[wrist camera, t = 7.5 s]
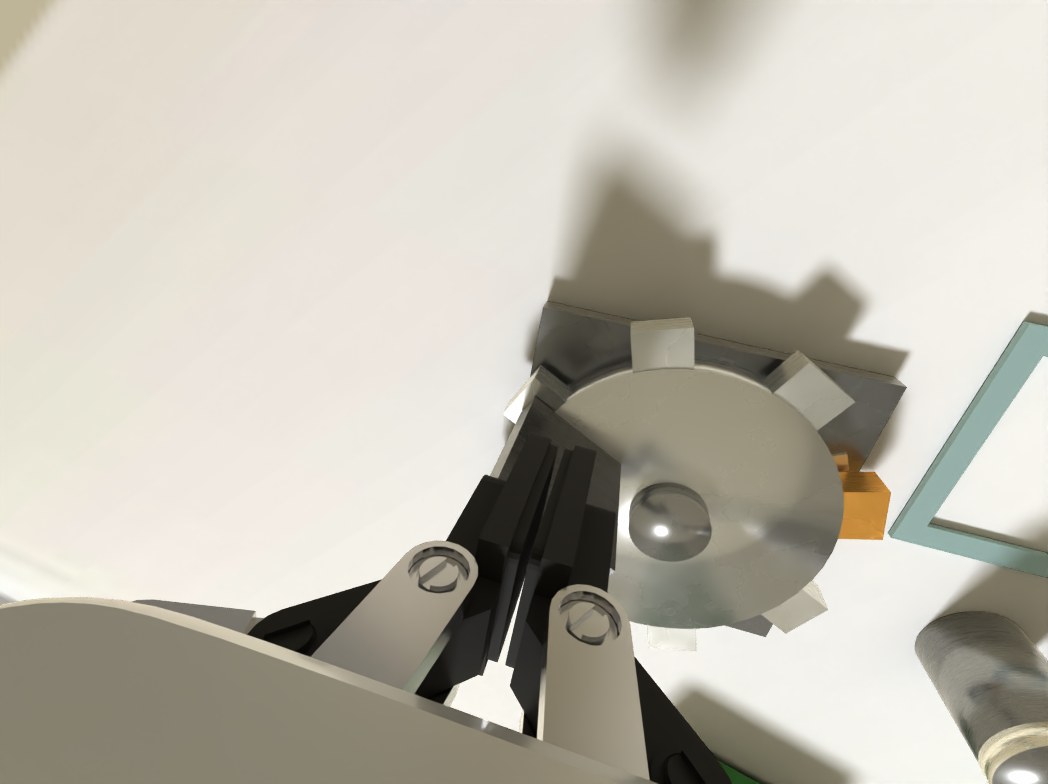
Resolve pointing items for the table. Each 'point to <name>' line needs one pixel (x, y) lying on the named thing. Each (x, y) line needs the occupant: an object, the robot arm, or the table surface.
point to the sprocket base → (604, 340)
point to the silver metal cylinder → (992, 692)
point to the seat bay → (961, 451)
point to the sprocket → (706, 480)
